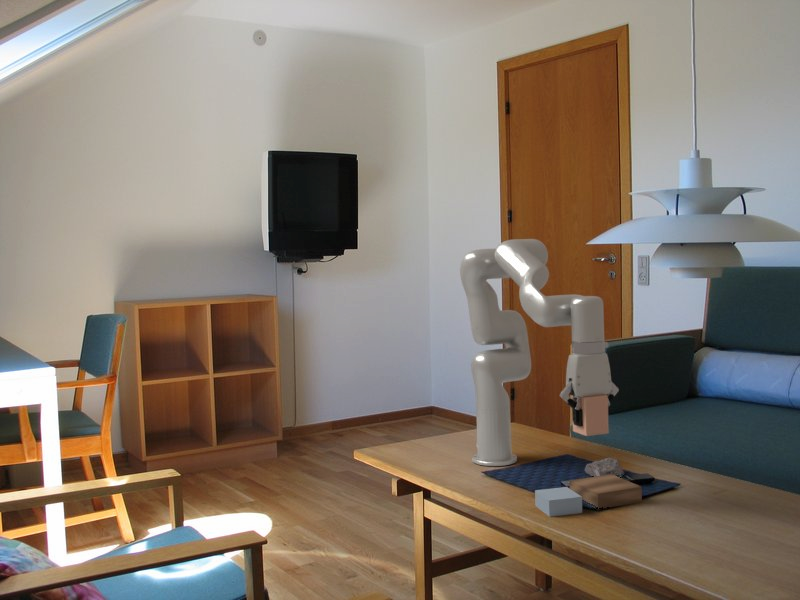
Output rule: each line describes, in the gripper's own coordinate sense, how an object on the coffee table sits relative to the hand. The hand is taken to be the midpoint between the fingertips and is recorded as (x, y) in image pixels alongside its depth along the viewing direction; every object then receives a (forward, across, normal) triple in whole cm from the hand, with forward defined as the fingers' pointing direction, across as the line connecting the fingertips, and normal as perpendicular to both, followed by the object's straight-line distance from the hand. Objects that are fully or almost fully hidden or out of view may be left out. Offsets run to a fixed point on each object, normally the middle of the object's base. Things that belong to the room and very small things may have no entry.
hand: (590, 423), depth 192 cm
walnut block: (+19, -3, +1) cm, 19 cm away
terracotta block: (+2, 0, 0) cm, 2 cm away
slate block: (+18, +11, +4) cm, 22 cm away
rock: (+18, -13, -15) cm, 27 cm away
